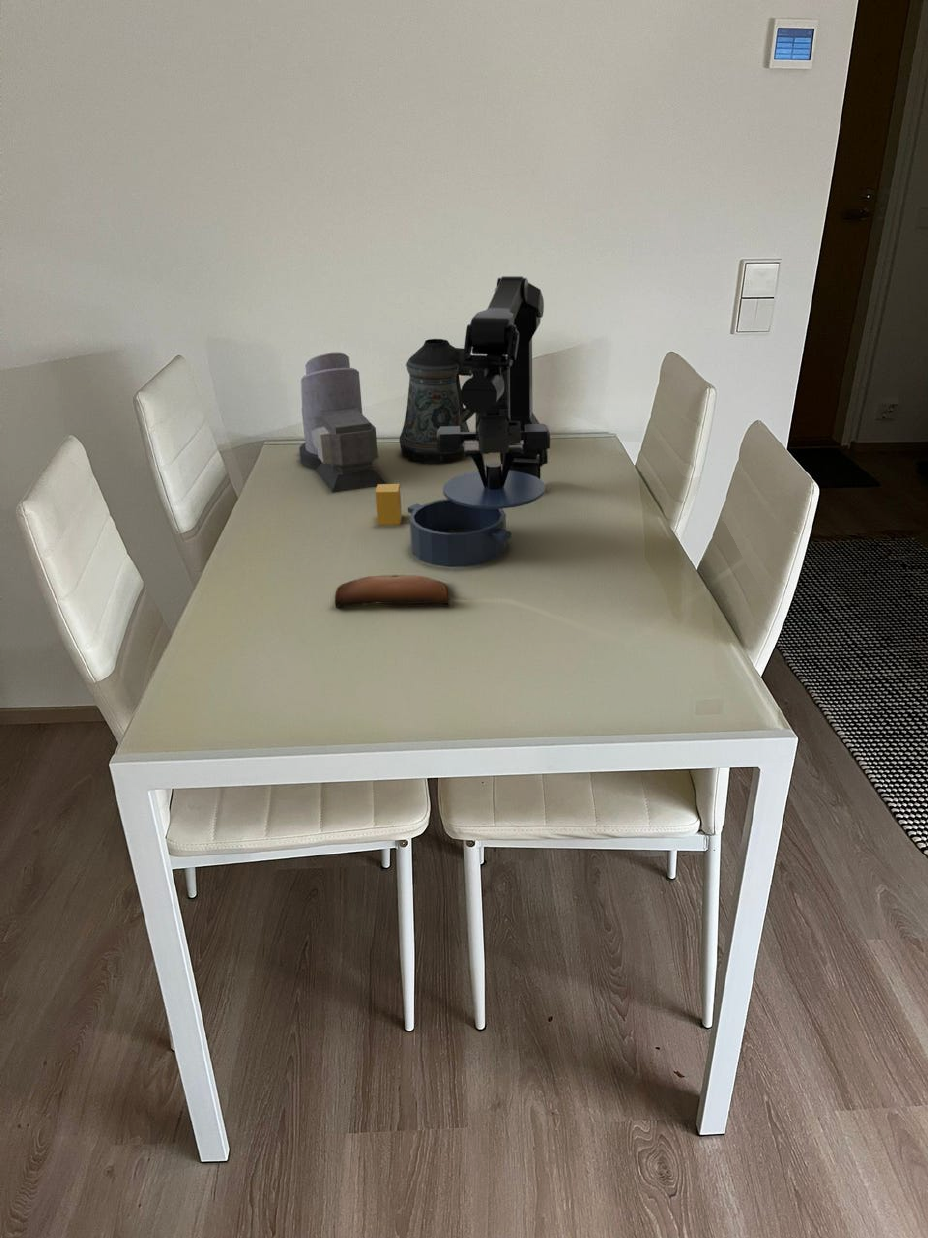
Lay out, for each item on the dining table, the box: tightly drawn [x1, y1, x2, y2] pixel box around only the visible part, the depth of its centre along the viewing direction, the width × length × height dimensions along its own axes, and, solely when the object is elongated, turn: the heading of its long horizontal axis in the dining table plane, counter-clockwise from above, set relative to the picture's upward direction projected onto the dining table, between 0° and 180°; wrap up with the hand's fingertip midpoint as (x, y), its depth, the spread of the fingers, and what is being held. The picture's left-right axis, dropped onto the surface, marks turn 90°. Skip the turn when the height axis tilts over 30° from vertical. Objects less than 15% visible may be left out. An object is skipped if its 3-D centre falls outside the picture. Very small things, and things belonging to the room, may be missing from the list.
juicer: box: [298, 352, 388, 493], centre depth 206 cm, size 30×16×24 cm, turn 20°
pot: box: [407, 498, 512, 568], centre depth 169 cm, size 17×22×6 cm
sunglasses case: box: [334, 574, 451, 608], centre depth 154 cm, size 18×7×7 cm, turn 90°
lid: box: [442, 461, 546, 509], centre depth 164 cm, size 18×18×5 cm
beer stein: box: [399, 338, 475, 465], centre depth 212 cm, size 16×19×25 cm
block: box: [375, 483, 403, 526], centre depth 181 cm, size 4×4×7 cm
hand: (493, 486), depth 165 cm, fingers closed on lid, 3 cm apart
